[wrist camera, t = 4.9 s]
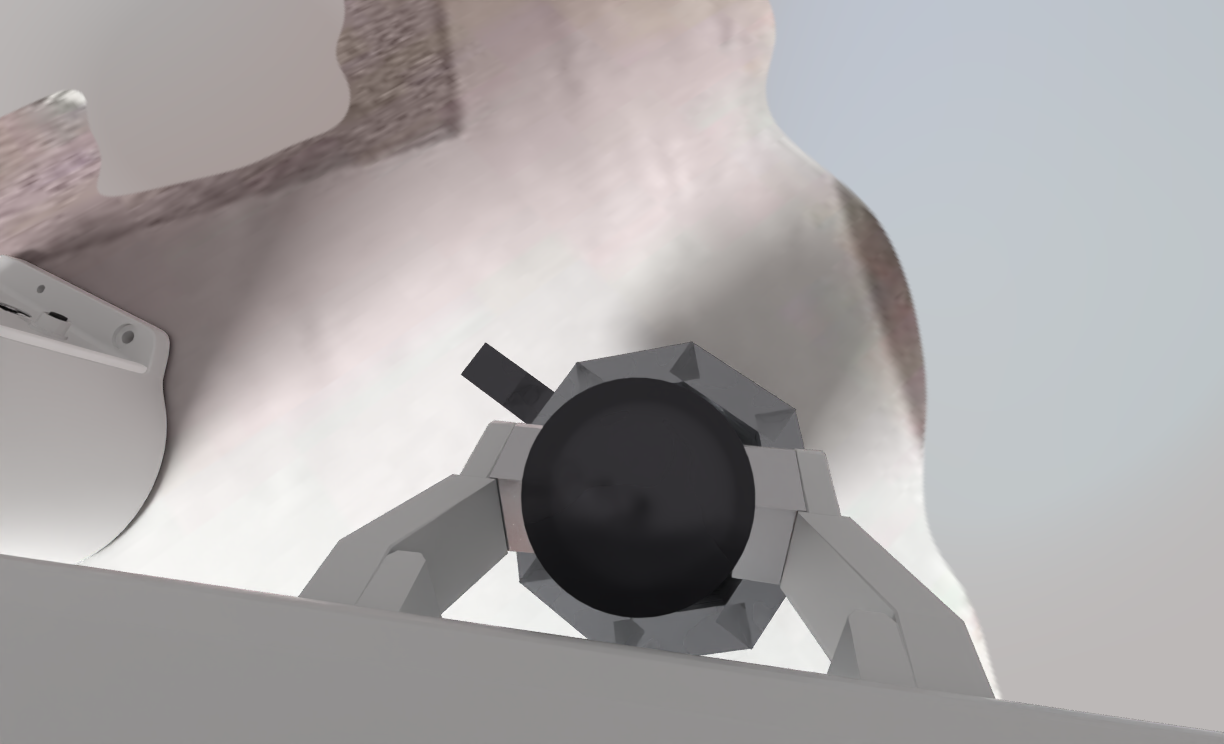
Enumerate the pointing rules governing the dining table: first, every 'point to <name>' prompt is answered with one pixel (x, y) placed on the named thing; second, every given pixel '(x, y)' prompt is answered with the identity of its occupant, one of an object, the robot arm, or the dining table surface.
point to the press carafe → (758, 421)
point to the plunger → (638, 497)
